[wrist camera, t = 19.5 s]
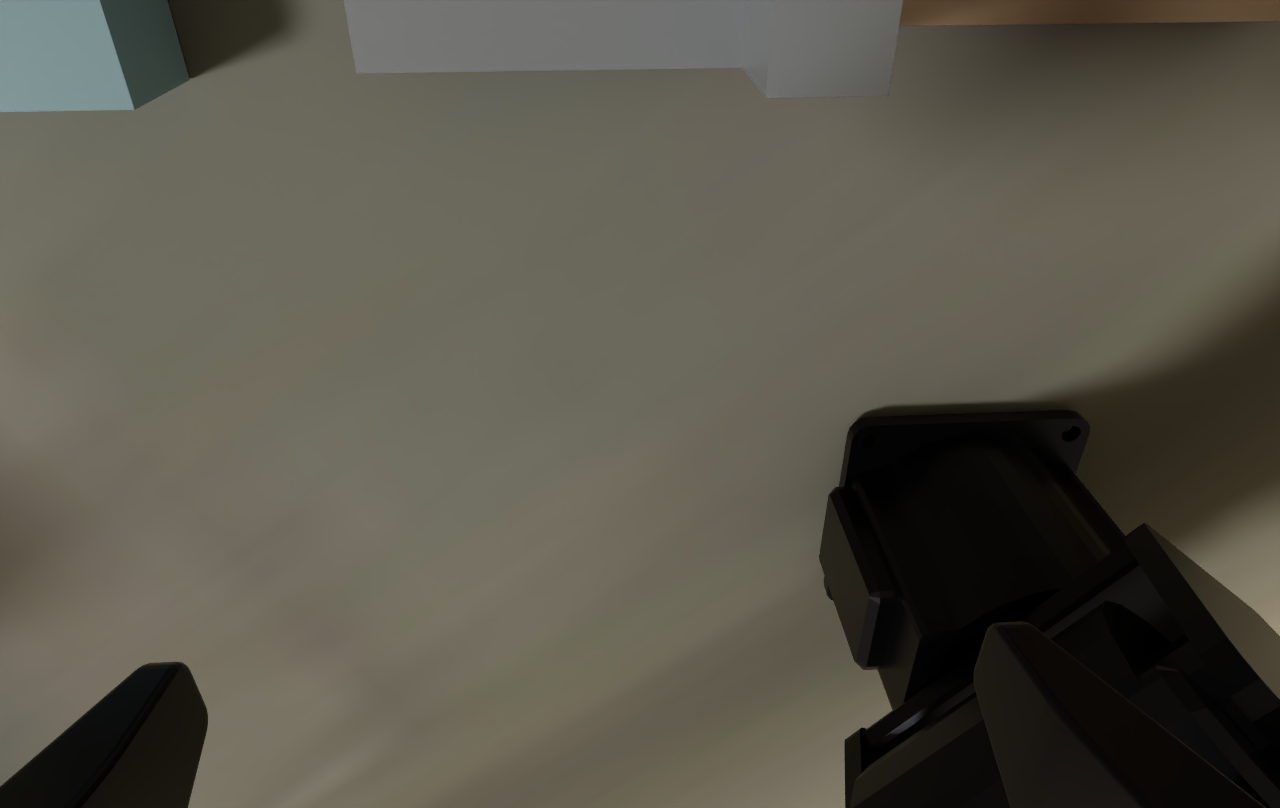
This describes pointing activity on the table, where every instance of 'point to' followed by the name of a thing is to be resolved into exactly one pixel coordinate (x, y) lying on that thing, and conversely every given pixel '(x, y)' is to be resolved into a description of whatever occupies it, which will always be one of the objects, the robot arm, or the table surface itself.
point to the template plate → (1084, 11)
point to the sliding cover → (638, 39)
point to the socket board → (87, 54)
